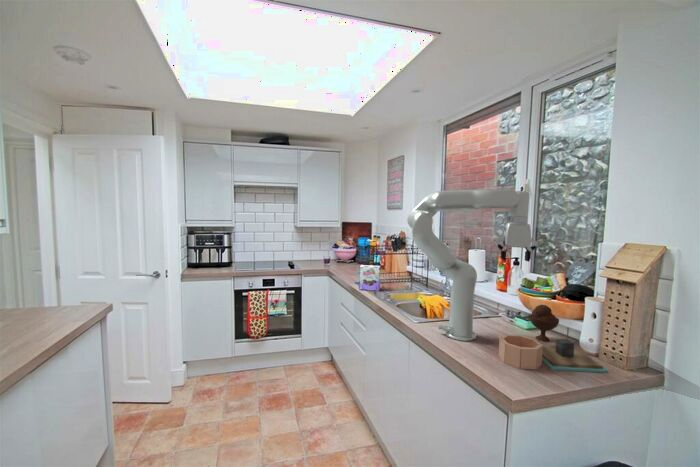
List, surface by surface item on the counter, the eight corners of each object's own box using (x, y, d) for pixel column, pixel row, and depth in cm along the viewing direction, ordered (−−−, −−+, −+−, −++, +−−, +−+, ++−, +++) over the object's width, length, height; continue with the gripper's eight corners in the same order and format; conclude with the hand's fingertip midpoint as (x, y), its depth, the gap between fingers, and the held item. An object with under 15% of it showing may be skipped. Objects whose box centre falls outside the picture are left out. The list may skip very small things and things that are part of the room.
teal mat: (551, 369, 110) (552, 367, 110) (526, 347, 128) (527, 345, 127) (608, 372, 108) (608, 370, 108) (574, 350, 126) (574, 348, 126)
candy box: (358, 290, 218) (359, 265, 217) (359, 288, 224) (360, 264, 223) (379, 291, 216) (379, 266, 215) (379, 289, 222) (380, 265, 221)
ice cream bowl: (562, 345, 130) (565, 309, 129) (532, 342, 133) (534, 306, 132) (552, 336, 141) (554, 302, 140) (524, 333, 143) (526, 300, 142)
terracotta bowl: (508, 368, 110) (509, 347, 110) (494, 352, 123) (495, 334, 123) (547, 370, 109) (548, 349, 109) (529, 353, 122) (530, 335, 122)
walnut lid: (553, 366, 110) (554, 349, 110) (530, 347, 126) (531, 332, 126) (602, 368, 109) (603, 351, 109) (573, 349, 125) (574, 333, 125)
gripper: (499, 220, 134) (497, 260, 135) (543, 221, 133) (540, 262, 134) (493, 219, 142) (491, 258, 143) (535, 221, 140) (532, 260, 141)
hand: (515, 260), depth 138 cm, fingers open, 9 cm apart
